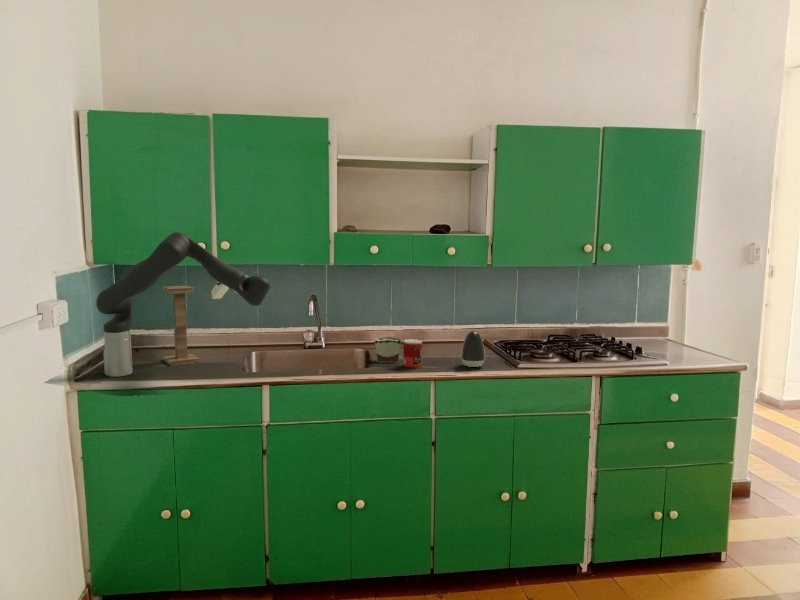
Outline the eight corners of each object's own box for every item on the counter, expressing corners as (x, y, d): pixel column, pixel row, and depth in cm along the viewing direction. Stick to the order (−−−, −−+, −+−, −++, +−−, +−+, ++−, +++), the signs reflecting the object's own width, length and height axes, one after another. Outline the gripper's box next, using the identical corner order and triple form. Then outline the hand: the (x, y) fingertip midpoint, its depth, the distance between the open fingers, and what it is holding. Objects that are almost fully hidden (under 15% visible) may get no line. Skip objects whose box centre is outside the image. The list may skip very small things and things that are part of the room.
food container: (401, 358, 254) (401, 336, 253) (401, 362, 248) (402, 339, 247) (373, 358, 254) (373, 336, 252) (373, 362, 248) (373, 339, 246)
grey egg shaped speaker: (461, 369, 236) (462, 333, 234) (459, 363, 246) (460, 328, 244) (486, 369, 236) (487, 333, 234) (483, 363, 246) (484, 329, 244)
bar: (235, 280, 225) (234, 271, 226) (226, 280, 223) (225, 272, 224) (220, 298, 242) (219, 290, 243) (212, 299, 240) (211, 291, 241)
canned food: (416, 369, 235) (416, 343, 234) (399, 366, 239) (399, 341, 238) (425, 365, 242) (425, 340, 240) (408, 363, 246) (409, 338, 244)
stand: (199, 362, 244) (197, 287, 240) (170, 365, 237) (167, 289, 233) (191, 356, 254) (189, 285, 250) (163, 360, 247) (160, 286, 243)
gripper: (258, 273, 219) (243, 268, 233) (222, 274, 211) (208, 269, 225) (258, 293, 220) (242, 286, 234) (222, 294, 212) (208, 287, 226)
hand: (225, 277), depth 229 cm, fingers closed on bar, 3 cm apart
